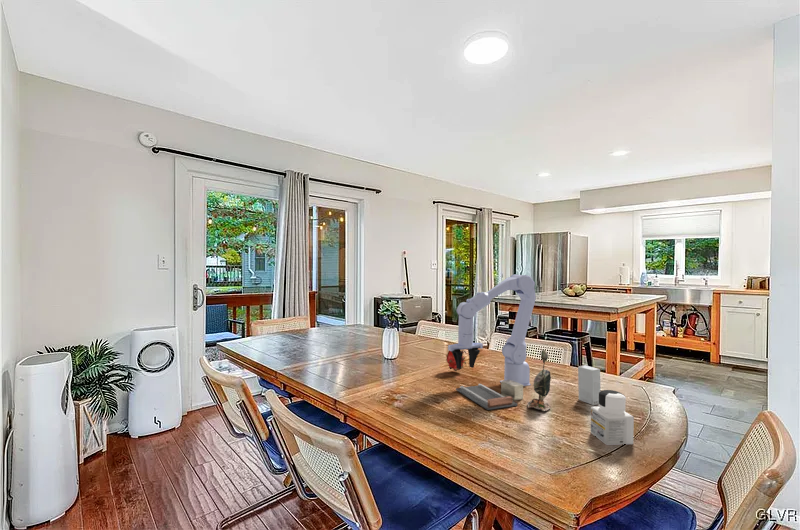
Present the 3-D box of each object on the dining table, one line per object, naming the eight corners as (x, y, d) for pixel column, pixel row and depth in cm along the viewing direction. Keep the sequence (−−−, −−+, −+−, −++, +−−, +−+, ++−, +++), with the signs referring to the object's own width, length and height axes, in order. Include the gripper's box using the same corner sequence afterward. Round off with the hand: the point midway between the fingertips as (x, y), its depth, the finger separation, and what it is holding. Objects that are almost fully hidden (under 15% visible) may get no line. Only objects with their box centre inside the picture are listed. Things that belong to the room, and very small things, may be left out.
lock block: (508, 392, 145) (508, 379, 145) (523, 398, 139) (523, 385, 139) (500, 394, 143) (500, 380, 143) (514, 400, 137) (514, 386, 137)
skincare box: (601, 403, 134) (601, 369, 134) (592, 405, 132) (593, 370, 132) (585, 398, 140) (586, 364, 140) (577, 400, 138) (577, 366, 138)
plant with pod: (558, 405, 132) (559, 346, 132) (544, 414, 124) (545, 352, 124) (535, 399, 138) (536, 343, 138) (520, 407, 130) (521, 348, 130)
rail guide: (482, 386, 151) (482, 379, 151) (517, 405, 132) (517, 397, 132) (455, 389, 147) (455, 383, 147) (487, 410, 127) (487, 402, 127)
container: (590, 433, 111) (590, 387, 111) (615, 432, 112) (616, 387, 112) (606, 445, 104) (607, 397, 103) (633, 445, 104) (634, 396, 104)
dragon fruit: (461, 375, 166) (461, 347, 166) (442, 372, 170) (443, 345, 170) (468, 370, 173) (468, 343, 173) (450, 367, 177) (450, 341, 177)
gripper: (476, 330, 158) (475, 363, 159) (444, 332, 153) (443, 366, 153) (485, 333, 152) (485, 368, 152) (453, 335, 147) (452, 371, 147)
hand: (465, 367), depth 152 cm, fingers open, 5 cm apart
